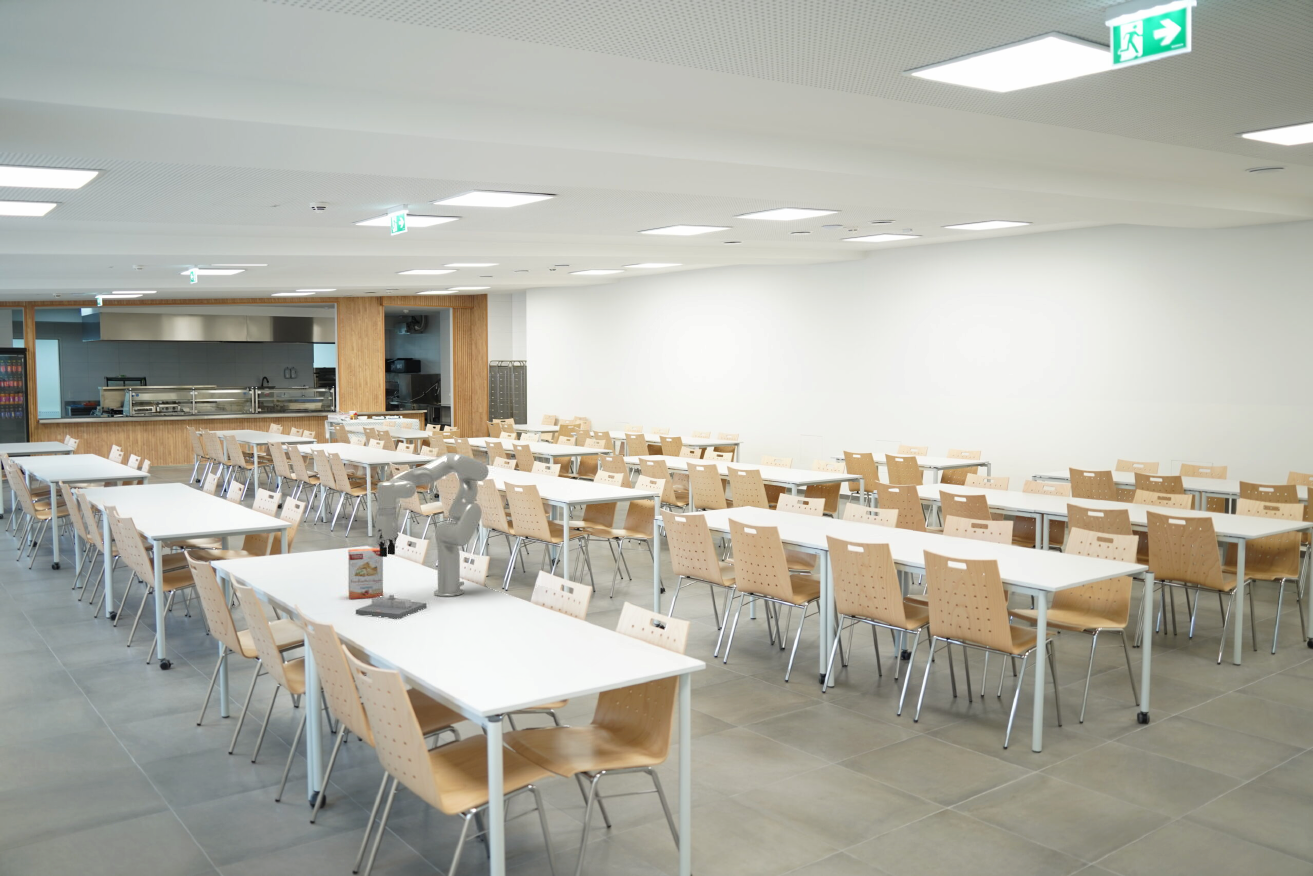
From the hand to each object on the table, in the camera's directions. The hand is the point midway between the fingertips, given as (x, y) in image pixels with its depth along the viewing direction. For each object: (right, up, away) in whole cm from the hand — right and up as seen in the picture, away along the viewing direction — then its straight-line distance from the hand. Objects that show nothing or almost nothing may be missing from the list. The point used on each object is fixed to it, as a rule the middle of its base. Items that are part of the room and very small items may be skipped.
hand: (387, 555), depth 407 cm
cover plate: (+4, -22, -7) cm, 23 cm away
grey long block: (+4, -20, -7) cm, 22 cm away
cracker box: (-14, -20, +18) cm, 30 cm away
